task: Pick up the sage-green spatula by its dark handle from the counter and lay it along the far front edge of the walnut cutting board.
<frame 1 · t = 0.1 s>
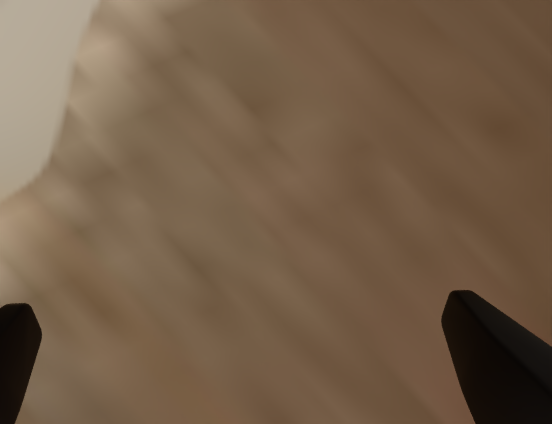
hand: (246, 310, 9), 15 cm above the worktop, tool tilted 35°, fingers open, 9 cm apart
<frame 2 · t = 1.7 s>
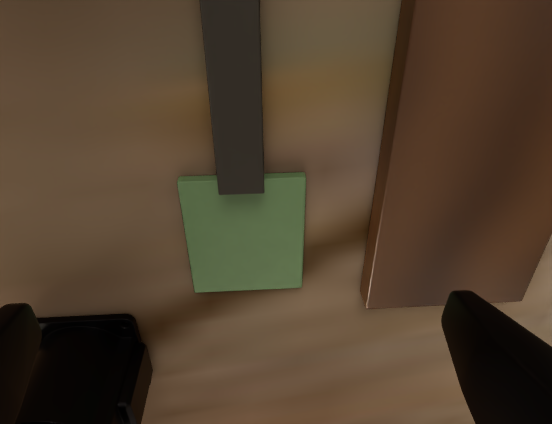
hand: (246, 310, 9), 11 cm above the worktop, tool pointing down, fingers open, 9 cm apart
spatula: (240, 154, 19), on the worktop
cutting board: (478, 127, 19), on the worktop
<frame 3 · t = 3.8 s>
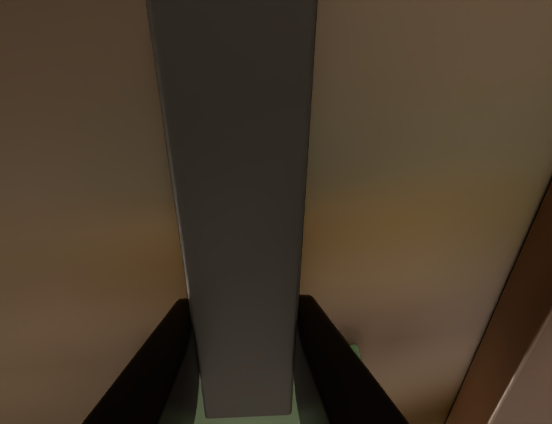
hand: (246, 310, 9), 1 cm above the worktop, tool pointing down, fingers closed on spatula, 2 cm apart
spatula: (247, 321, 10), on the worktop, touching gripper
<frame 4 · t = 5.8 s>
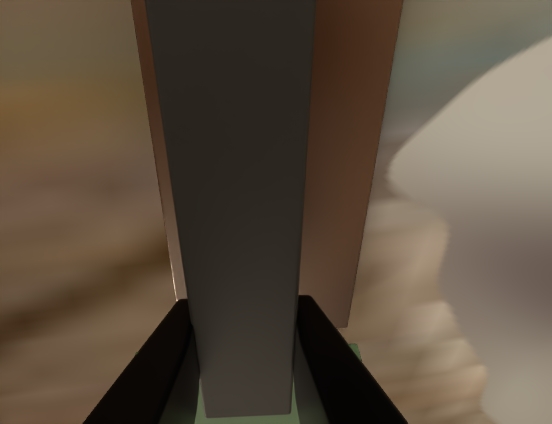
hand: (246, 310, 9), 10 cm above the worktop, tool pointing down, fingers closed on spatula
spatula: (247, 320, 10), point 9 cm above the worktop, touching gripper
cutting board: (265, 147, 18), on the worktop
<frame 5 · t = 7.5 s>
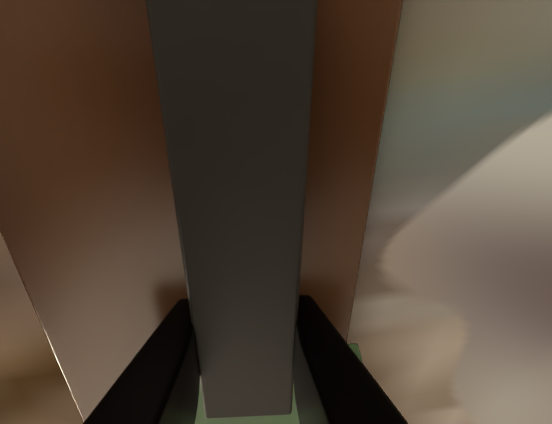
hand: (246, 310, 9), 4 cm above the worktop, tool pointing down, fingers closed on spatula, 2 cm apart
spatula: (247, 320, 10), point 3 cm above the worktop, touching gripper
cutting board: (198, 233, 12), on the worktop
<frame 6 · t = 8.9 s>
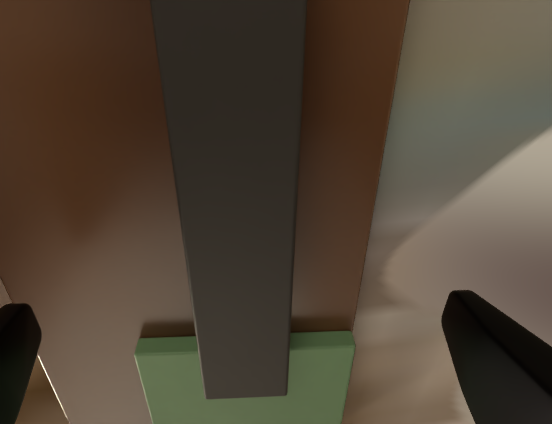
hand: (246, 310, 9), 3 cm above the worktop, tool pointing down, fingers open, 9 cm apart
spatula: (245, 307, 11), point 1 cm above the worktop, touching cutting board
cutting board: (194, 246, 12), on the worktop
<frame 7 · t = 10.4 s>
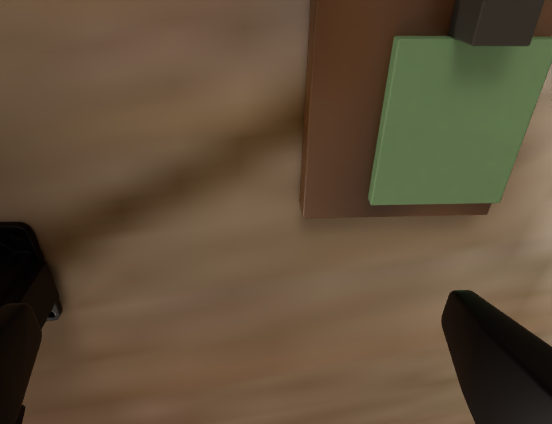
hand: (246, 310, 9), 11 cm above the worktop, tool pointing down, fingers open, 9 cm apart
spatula: (480, 5, 14), point 1 cm above the worktop, touching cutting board
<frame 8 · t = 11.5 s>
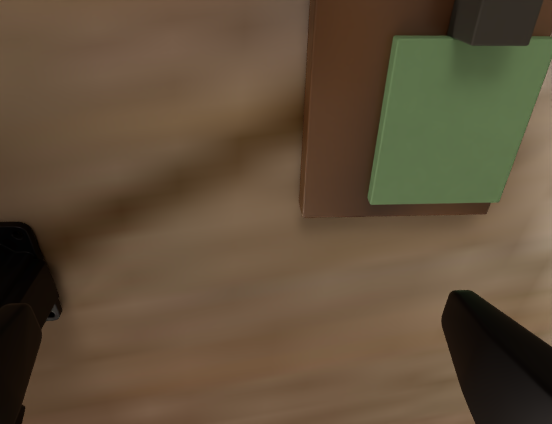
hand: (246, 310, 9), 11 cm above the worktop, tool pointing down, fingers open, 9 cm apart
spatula: (479, 5, 15), point 1 cm above the worktop, touching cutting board
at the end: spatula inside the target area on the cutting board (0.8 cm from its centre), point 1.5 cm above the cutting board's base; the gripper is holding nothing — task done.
